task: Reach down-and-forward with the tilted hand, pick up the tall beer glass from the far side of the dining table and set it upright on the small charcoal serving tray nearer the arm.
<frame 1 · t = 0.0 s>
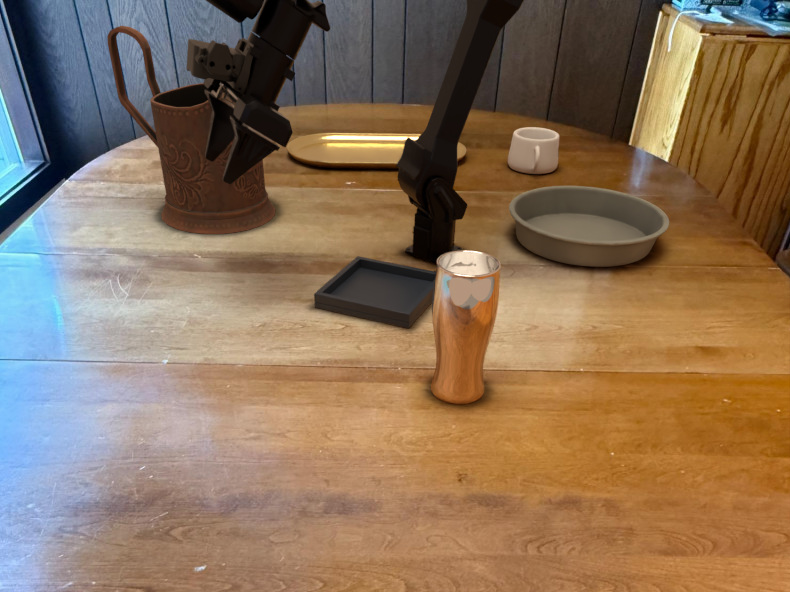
hand: (217, 170, 98), 15 cm above the table, tool tilted 35°, fingers open, 9 cm apart
serving platter: (377, 157, 152), on the table
serving tray: (381, 297, 106), on the table
mug: (532, 170, 149), on the table
cake pan: (583, 241, 123), on the table
cup holder: (204, 211, 128), on the table
beer glass: (457, 391, 89), on the table
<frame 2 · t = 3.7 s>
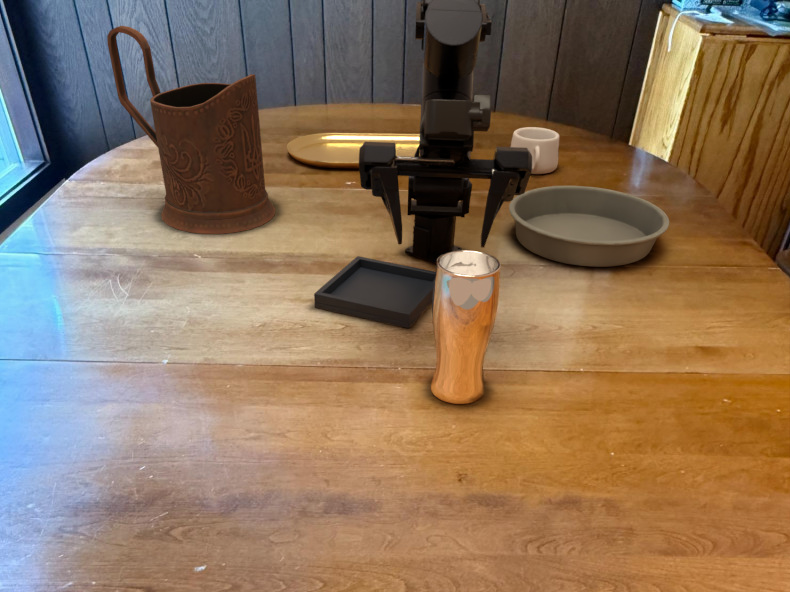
hand: (441, 244, 86), 14 cm above the table, tool tilted 45°, fingers open, 9 cm apart
nothing on the table moved.
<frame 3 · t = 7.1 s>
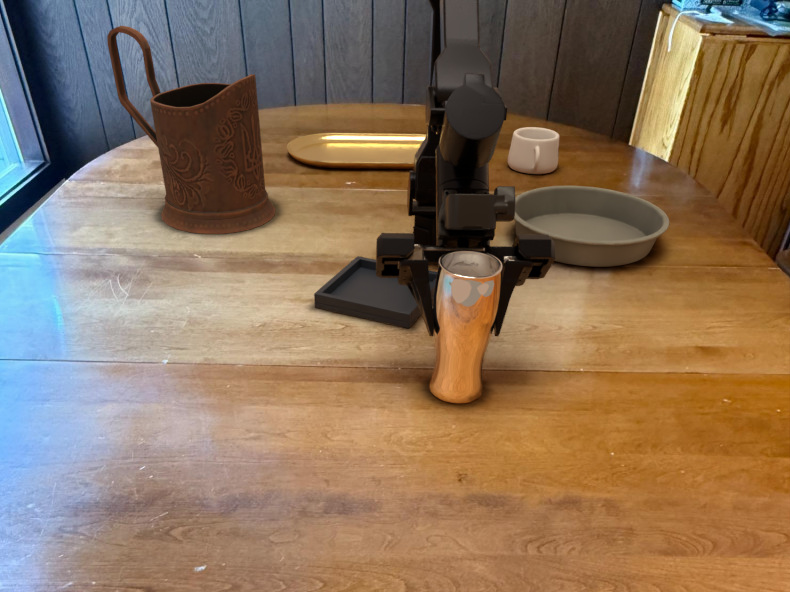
hand: (464, 335, 83), 8 cm above the table, tool tilted 45°, fingers closed on beer glass, 7 cm apart
beer glass: (455, 390, 89), on the table, touching gripper
everything else where it was.
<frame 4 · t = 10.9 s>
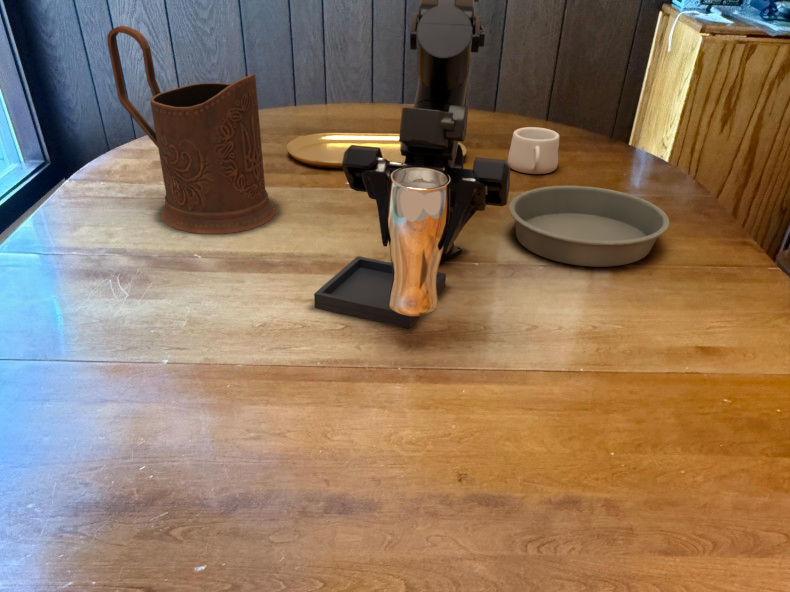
hand: (414, 248, 88), 12 cm above the table, tool tilted 45°, fingers closed on beer glass, 7 cm apart
beer glass: (412, 305, 94), point 4 cm above the table, touching gripper
everything else where it was.
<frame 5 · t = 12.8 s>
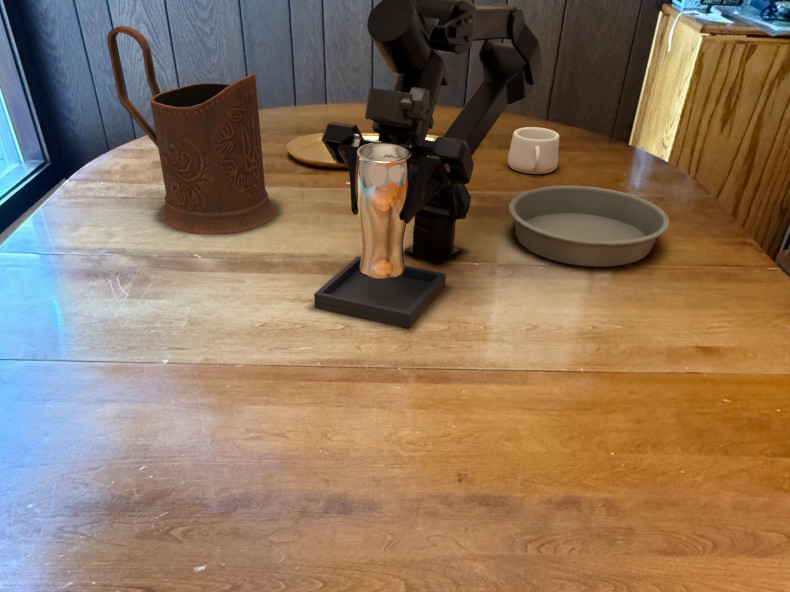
hand: (379, 217, 97), 11 cm above the table, tool tilted 45°, fingers closed on beer glass, 7 cm apart
beer glass: (382, 271, 103), point 4 cm above the table, touching gripper
everything else where it was.
when the fingers open (8 cm above the table, at t = 14.7 s): beer glass stays where it is, resting on serving tray.
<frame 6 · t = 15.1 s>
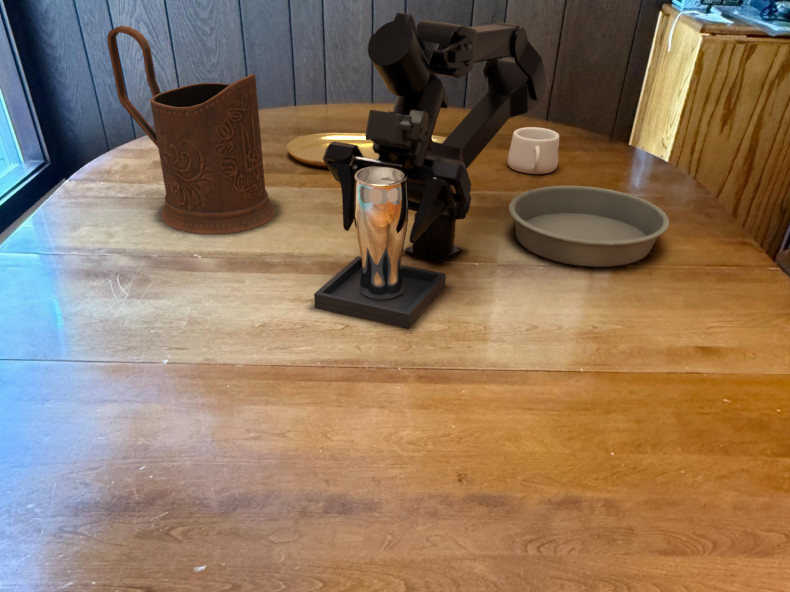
hand: (378, 235, 99), 9 cm above the table, tool tilted 45°, fingers open, 9 cm apart
beer glass: (381, 290, 106), point 1 cm above the table, touching serving tray
everything else where it was.
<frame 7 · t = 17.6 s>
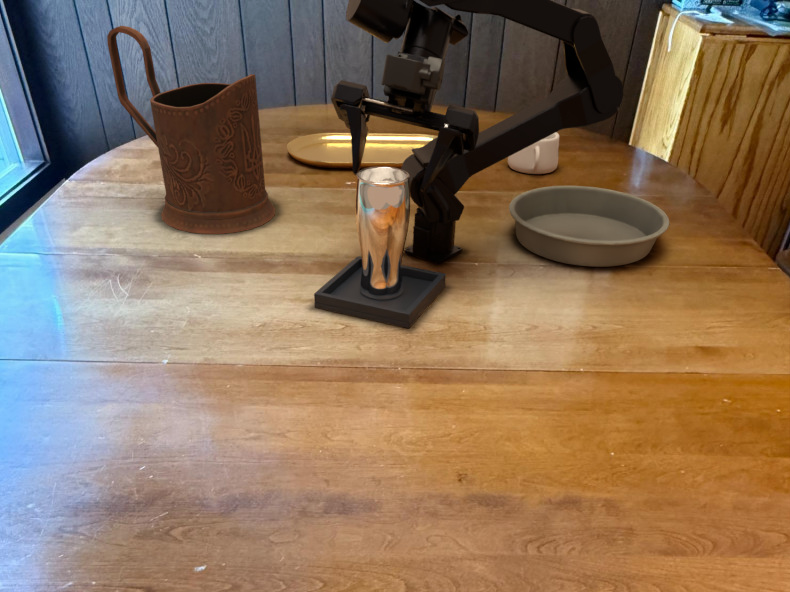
hand: (388, 182, 100), 14 cm above the table, tool tilted 40°, fingers open, 9 cm apart
nothing on the table moved.
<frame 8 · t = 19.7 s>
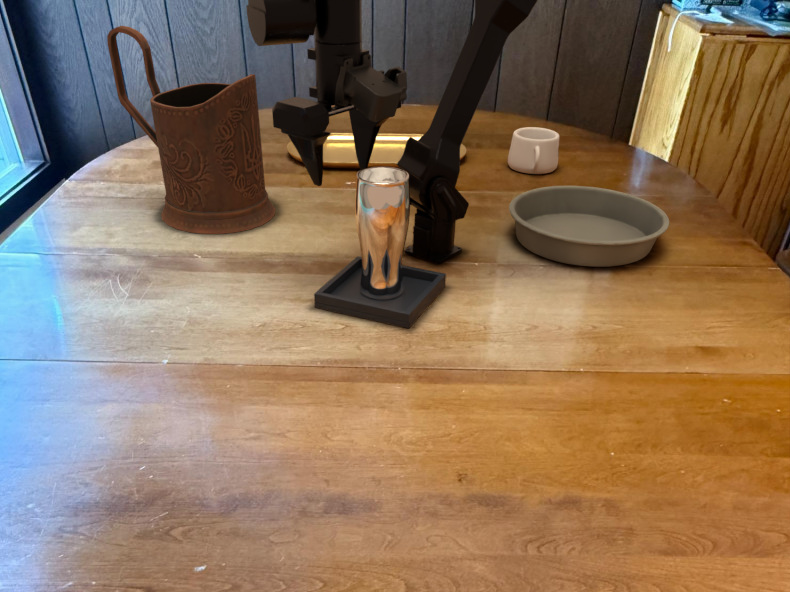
hand: (341, 176, 103), 13 cm above the table, tool pointing down, fingers open, 9 cm apart
nothing on the table moved.
at the end: beer glass inside the target area in the serving tray (0.4 cm from its centre), point 0.6 cm above the serving tray's base; beer glass tilted 0°; the gripper is holding nothing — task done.
